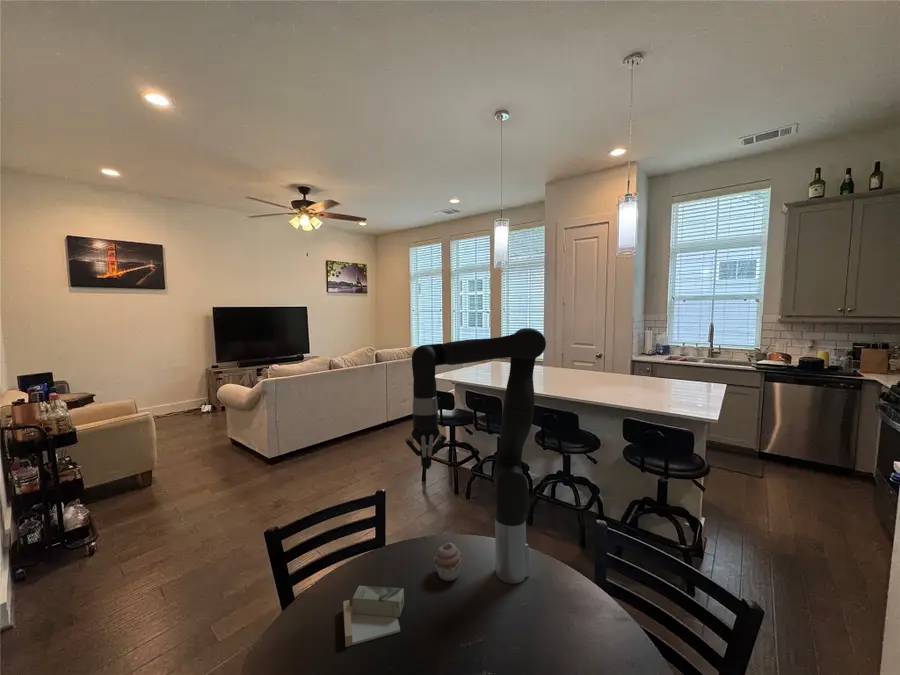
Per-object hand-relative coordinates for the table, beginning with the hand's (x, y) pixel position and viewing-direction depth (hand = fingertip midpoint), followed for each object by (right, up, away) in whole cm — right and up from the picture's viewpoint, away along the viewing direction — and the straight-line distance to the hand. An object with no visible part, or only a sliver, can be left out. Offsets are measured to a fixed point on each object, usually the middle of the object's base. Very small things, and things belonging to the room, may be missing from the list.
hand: (426, 468), depth 111 cm
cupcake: (+7, -33, +1) cm, 34 cm away
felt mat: (-13, -34, -16) cm, 39 cm away
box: (-5, -31, -14) cm, 34 cm away
